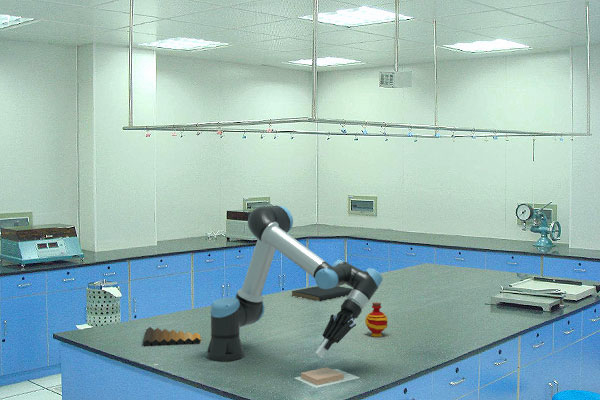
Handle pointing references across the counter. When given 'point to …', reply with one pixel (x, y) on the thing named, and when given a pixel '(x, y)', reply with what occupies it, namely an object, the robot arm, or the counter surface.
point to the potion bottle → (376, 320)
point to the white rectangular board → (346, 378)
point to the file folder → (322, 293)
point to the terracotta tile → (322, 376)
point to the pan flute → (169, 337)
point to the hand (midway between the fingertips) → (318, 355)
